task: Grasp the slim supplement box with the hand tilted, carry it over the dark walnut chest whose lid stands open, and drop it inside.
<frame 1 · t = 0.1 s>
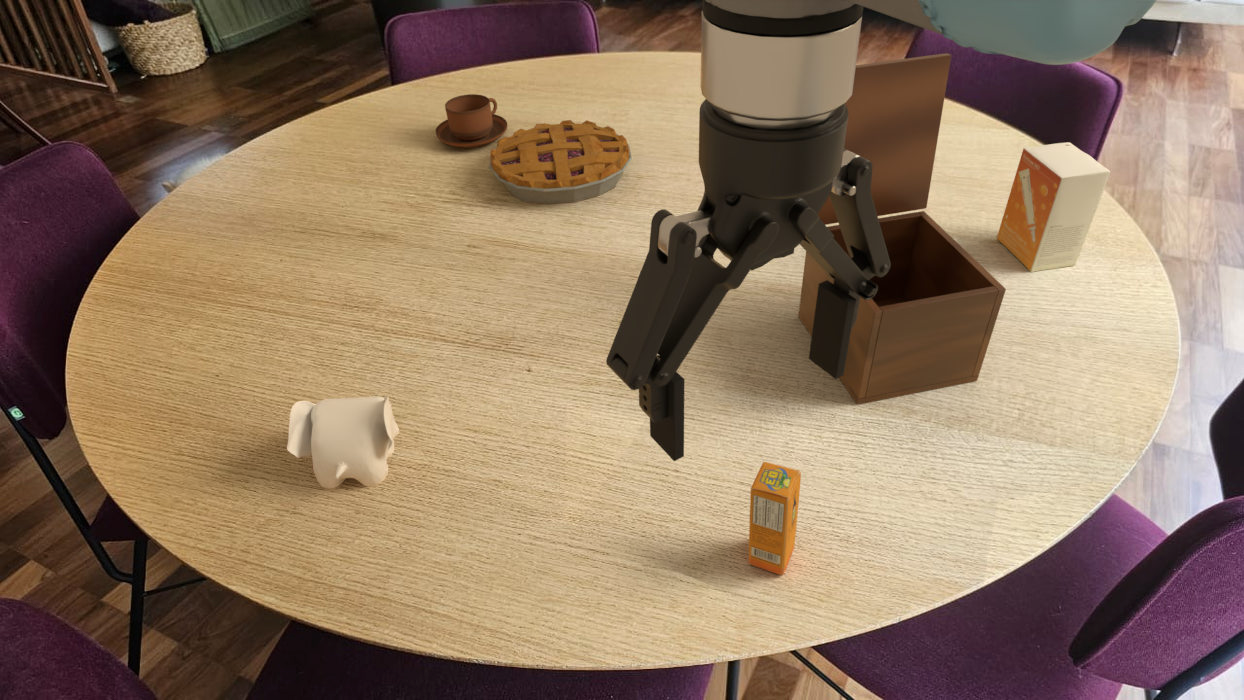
hand: (750, 405, 54), 20 cm above the table, tool pointing down, fingers open, 13 cm apart
elephant figurine: (364, 466, 80), on the table
small box: (1034, 253, 103), on the table
chest: (882, 346, 90), on the table
supplement box: (769, 558, 69), on the table
pie: (562, 175, 125), on the table
lid: (864, 135, 86), point 20 cm above the table, hinge at 95.0°
cup and saucer: (473, 139, 137), on the table
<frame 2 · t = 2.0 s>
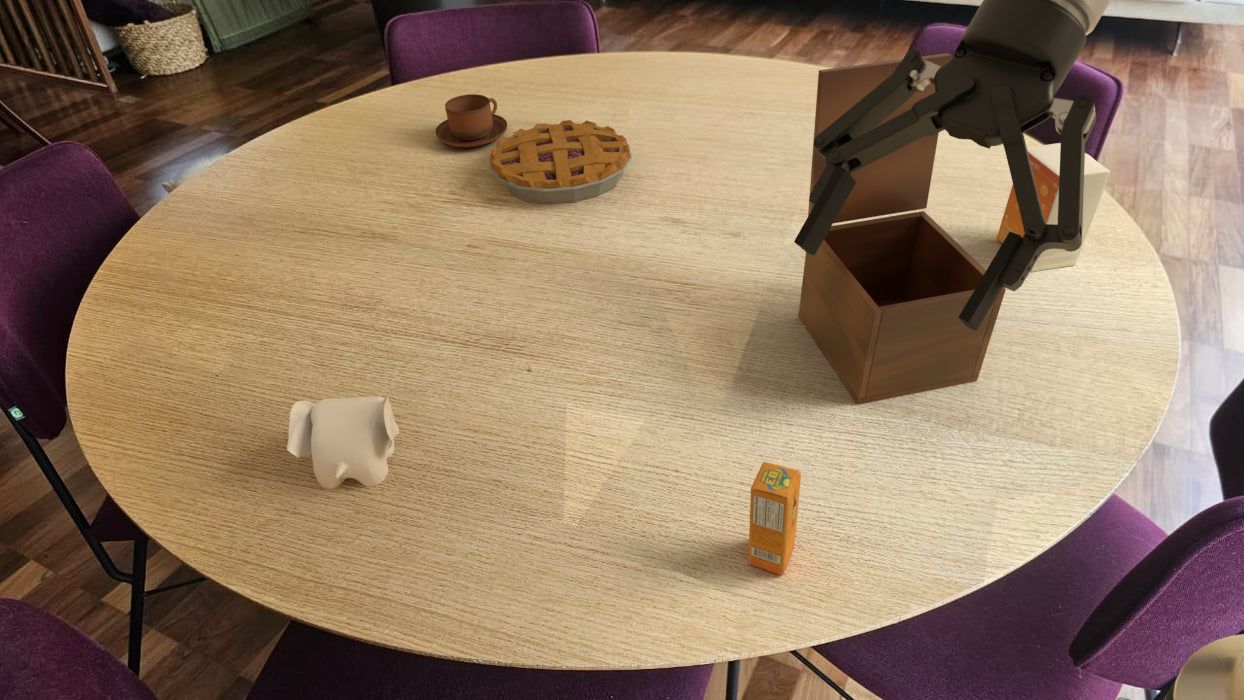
hand: (880, 284, 59), 24 cm above the table, tool tilted 45°, fingers open, 13 cm apart
nothing on the table moved.
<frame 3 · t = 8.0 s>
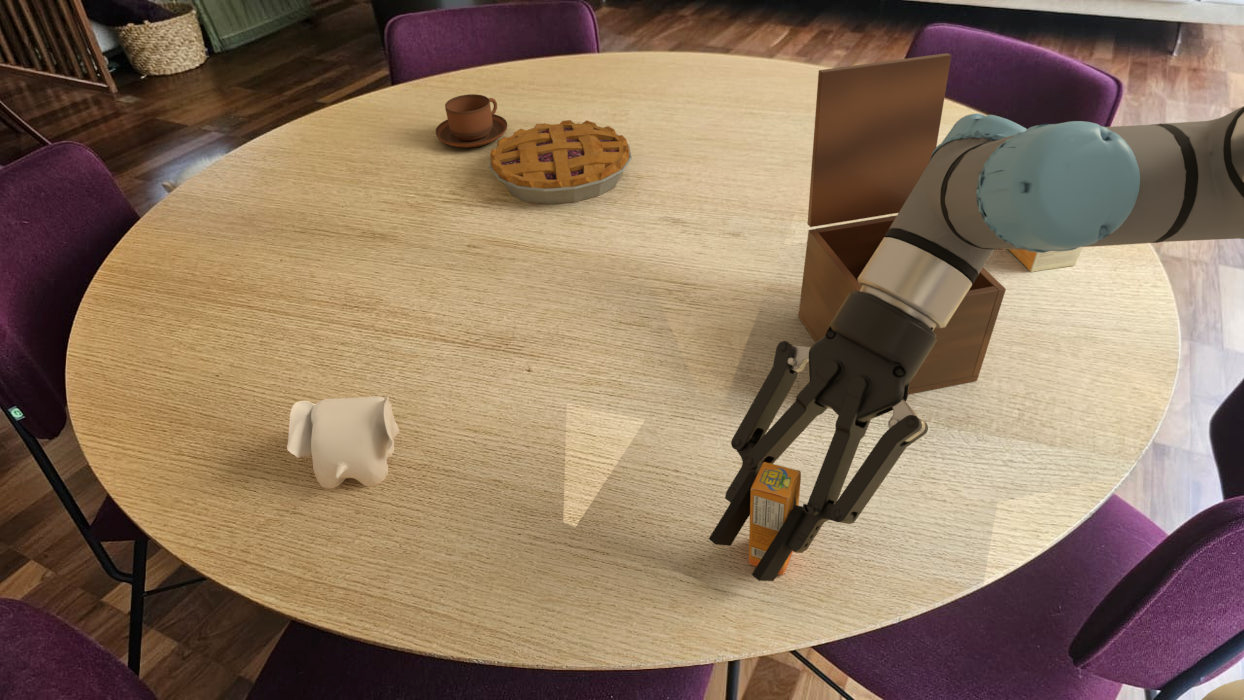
hand: (740, 559, 65), 3 cm above the table, tool tilted 45°, fingers closed on supplement box, 4 cm apart
supplement box: (769, 558, 69), on the table, touching gripper
everything else where it was.
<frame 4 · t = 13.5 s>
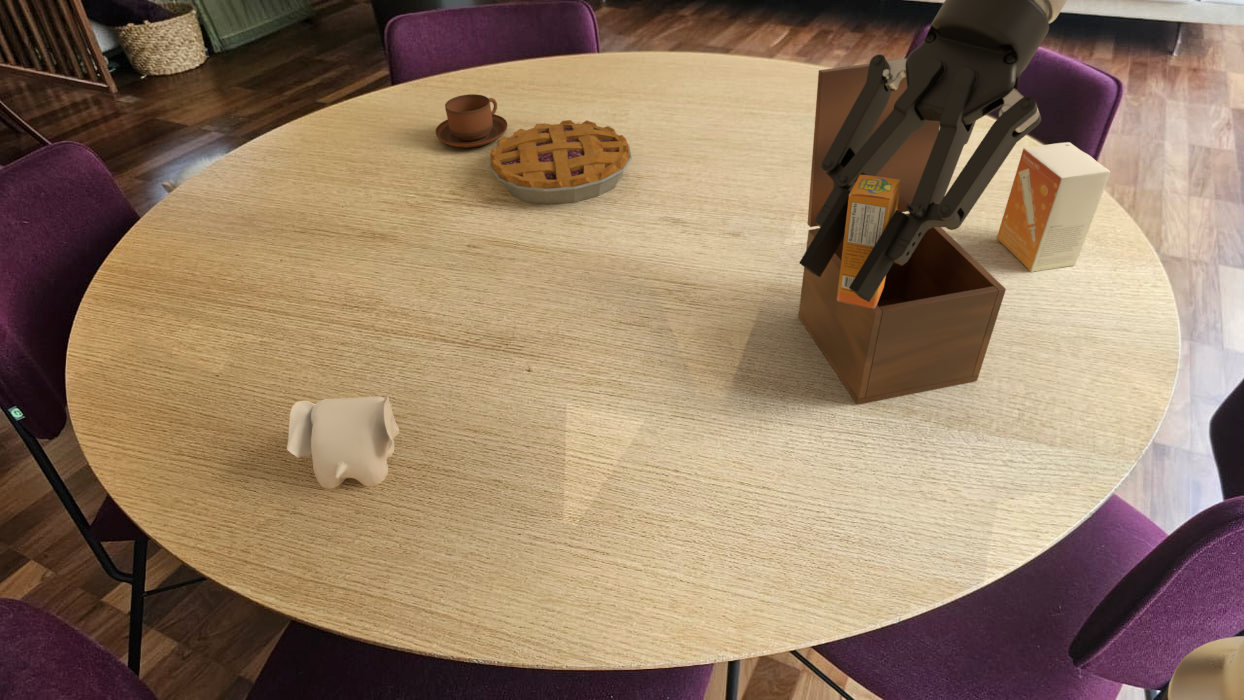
hand: (834, 281, 62), 22 cm above the table, tool tilted 45°, fingers closed on supplement box, 4 cm apart
supplement box: (857, 297, 66), point 19 cm above the table, touching gripper
everything else where it was.
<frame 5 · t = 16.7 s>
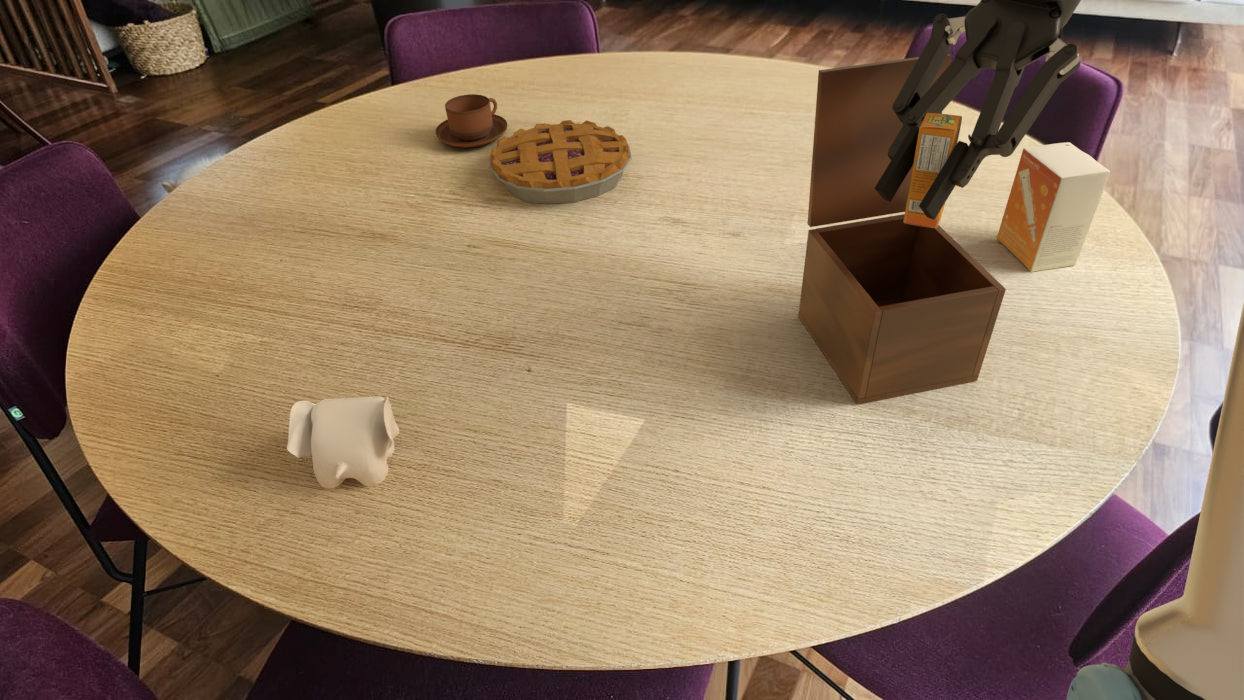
hand: (904, 203, 73), 21 cm above the table, tool tilted 45°, fingers closed on supplement box, 4 cm apart
supplement box: (920, 220, 77), point 17 cm above the table, touching gripper
everything else where it was.
when the fingers open (13 cm above the table, at t = 19.1 s): supplement box drops 9 cm, resting on chest.
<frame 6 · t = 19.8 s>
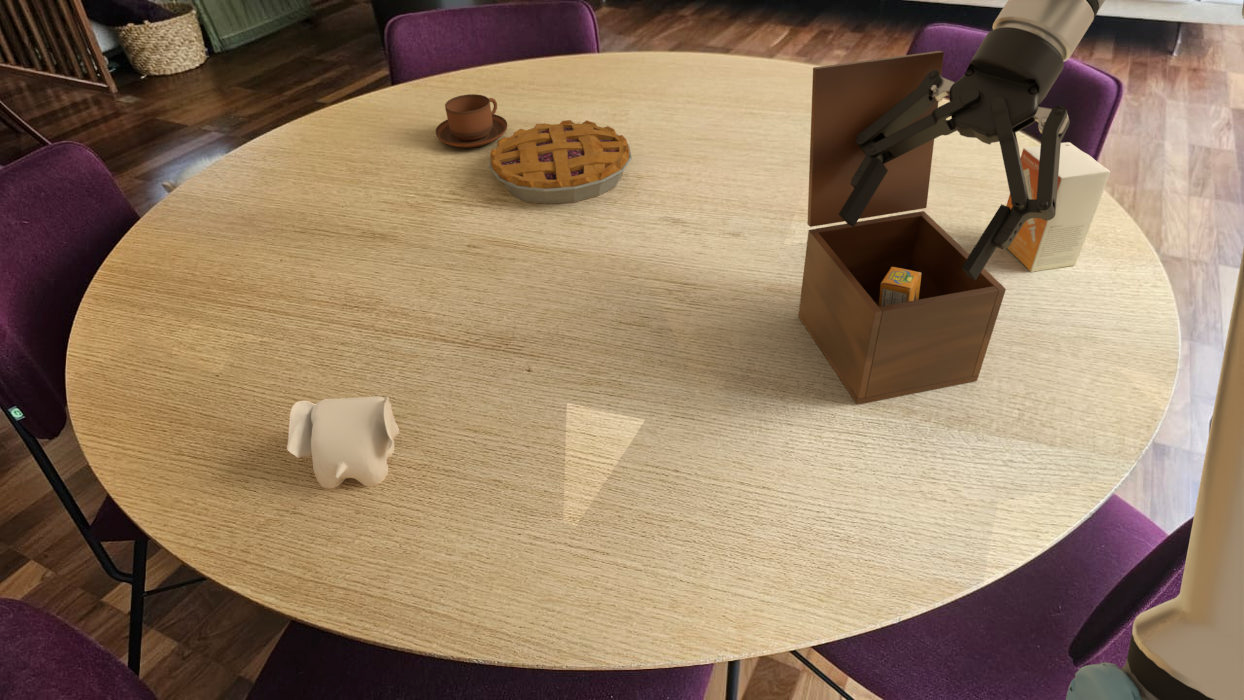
hand: (903, 246, 77), 15 cm above the table, tool tilted 45°, fingers open, 13 cm apart
supplement box: (891, 352, 88), point 1 cm above the table, touching chest
lid: (861, 135, 86), point 20 cm above the table, hinge at 99.6°
everything else where it was.
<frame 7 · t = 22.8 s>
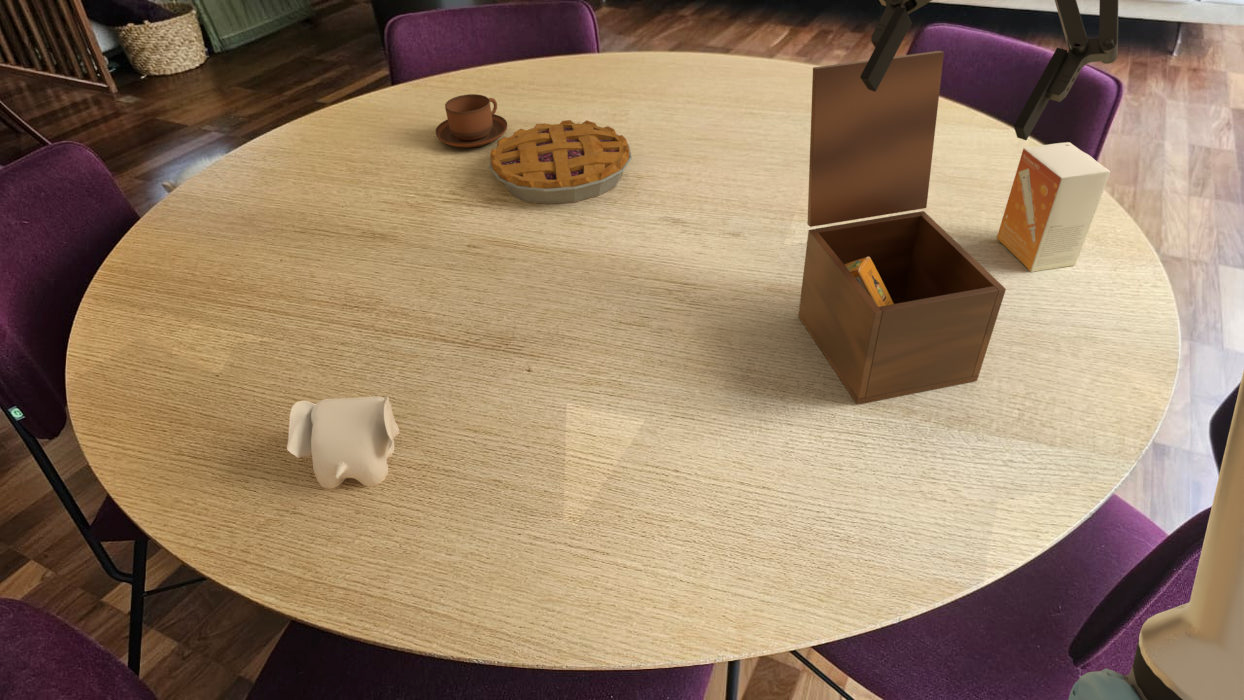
hand: (939, 108, 67), 30 cm above the table, tool tilted 40°, fingers open, 13 cm apart
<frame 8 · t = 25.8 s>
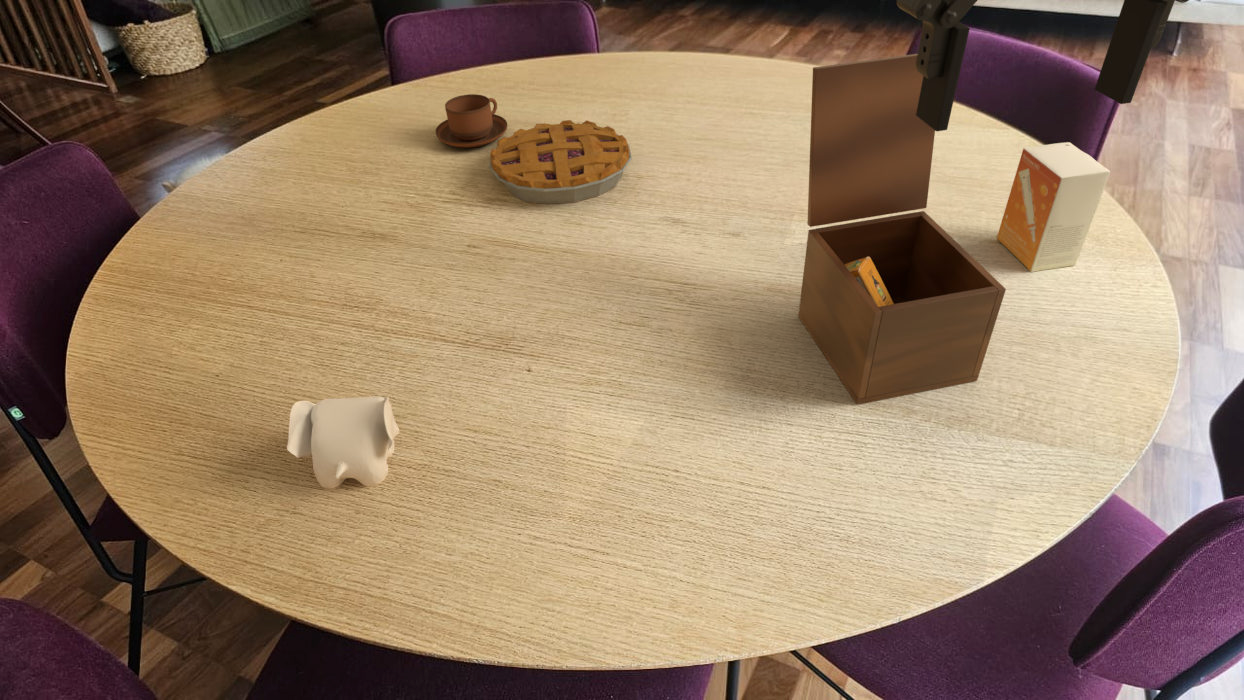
hand: (1023, 109, 55), 35 cm above the table, tool pointing down, fingers open, 13 cm apart
at the end: lid at +100° (first picture: +95°); supplement box inside the target area in the chest (1.7 cm from its centre), point 1.5 cm above the chest's base; the gripper is holding nothing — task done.
